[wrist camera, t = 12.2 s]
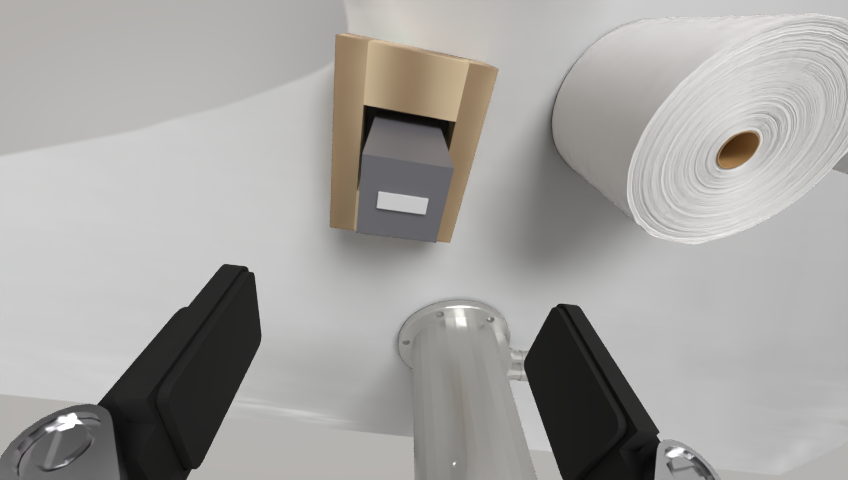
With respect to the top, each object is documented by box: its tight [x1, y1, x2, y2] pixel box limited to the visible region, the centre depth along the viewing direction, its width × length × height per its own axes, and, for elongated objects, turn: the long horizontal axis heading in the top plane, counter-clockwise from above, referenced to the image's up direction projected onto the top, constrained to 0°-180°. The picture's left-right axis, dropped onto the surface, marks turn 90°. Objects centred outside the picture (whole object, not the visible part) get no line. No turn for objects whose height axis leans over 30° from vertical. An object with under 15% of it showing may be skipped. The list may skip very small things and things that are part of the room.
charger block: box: [356, 109, 454, 243], centre depth 19 cm, size 4×4×9 cm
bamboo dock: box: [330, 33, 499, 243], centre depth 22 cm, size 9×12×4 cm
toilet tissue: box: [552, 13, 848, 244], centre depth 19 cm, size 11×12×10 cm
